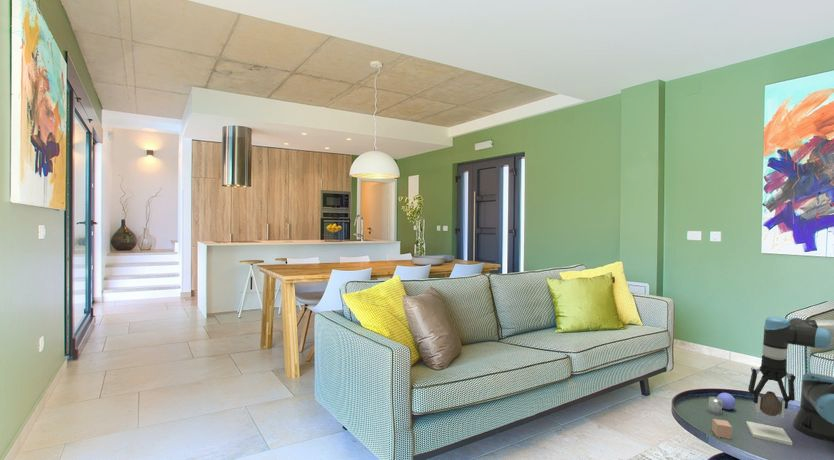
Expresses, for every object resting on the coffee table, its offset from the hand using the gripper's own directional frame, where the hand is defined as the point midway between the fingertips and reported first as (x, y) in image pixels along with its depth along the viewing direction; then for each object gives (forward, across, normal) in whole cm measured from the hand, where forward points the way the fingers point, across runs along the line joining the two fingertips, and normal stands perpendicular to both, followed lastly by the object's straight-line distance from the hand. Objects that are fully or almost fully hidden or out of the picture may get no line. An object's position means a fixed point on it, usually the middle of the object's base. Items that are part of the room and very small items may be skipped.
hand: (769, 413), depth 175 cm
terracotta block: (+9, +17, +10) cm, 21 cm away
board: (+8, 0, 0) cm, 8 cm away
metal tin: (+9, +16, -12) cm, 22 cm away
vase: (0, 0, 0) cm, 0 cm away
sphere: (+9, +11, -19) cm, 24 cm away
